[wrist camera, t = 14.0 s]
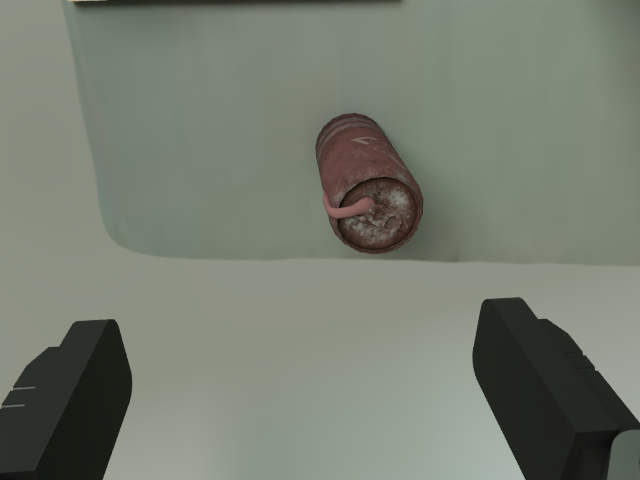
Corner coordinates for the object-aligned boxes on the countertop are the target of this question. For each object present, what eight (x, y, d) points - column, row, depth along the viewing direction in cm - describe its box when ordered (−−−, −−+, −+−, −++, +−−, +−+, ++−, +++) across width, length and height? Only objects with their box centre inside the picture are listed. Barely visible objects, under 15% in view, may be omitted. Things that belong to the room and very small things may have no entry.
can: (309, 115, 40) (323, 176, 28) (384, 108, 41) (429, 167, 28) (314, 182, 43) (328, 264, 31) (384, 175, 44) (425, 254, 31)
